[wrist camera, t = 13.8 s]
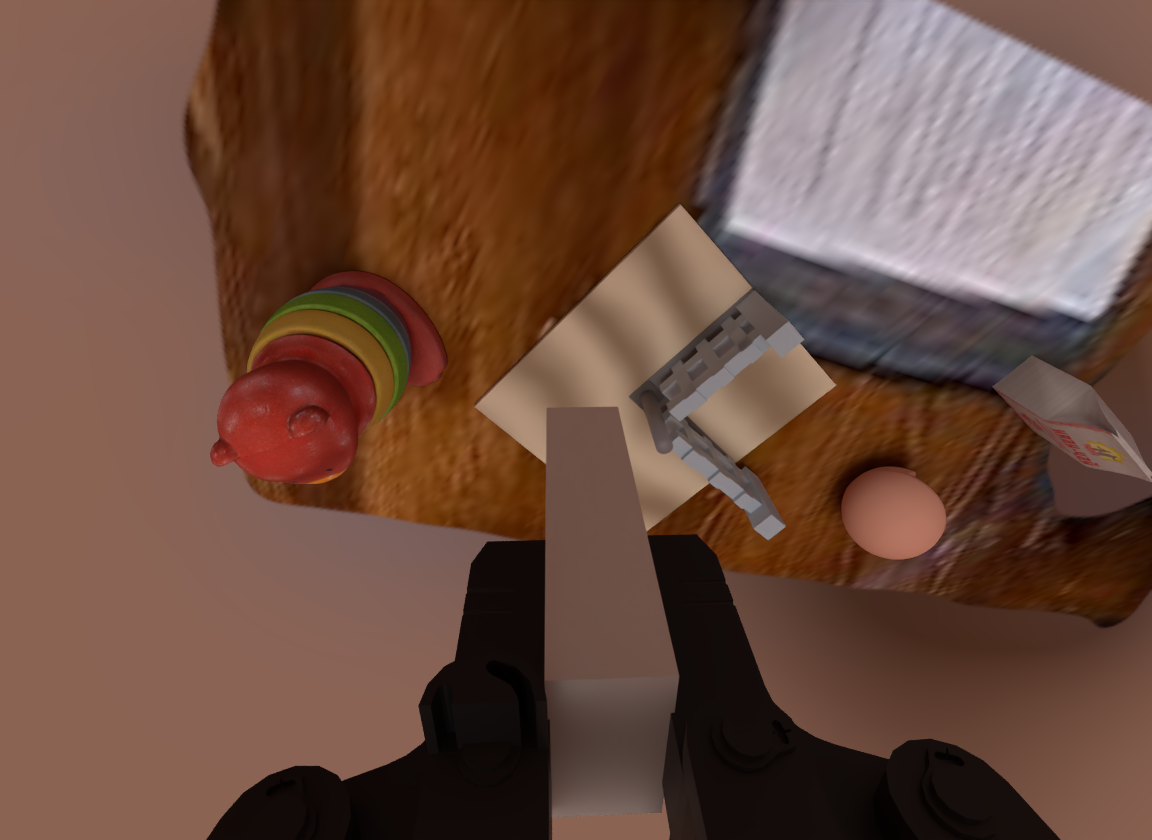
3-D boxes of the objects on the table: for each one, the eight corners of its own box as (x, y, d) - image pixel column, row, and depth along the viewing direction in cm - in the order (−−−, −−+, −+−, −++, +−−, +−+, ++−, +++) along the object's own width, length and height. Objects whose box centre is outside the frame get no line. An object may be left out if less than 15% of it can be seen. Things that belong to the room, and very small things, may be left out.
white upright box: (1031, 355, 48) (1139, 411, 39) (1071, 401, 50) (1181, 464, 42) (992, 386, 49) (1088, 448, 41) (1032, 430, 52) (1131, 497, 43)
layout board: (678, 203, 41) (680, 204, 41) (833, 382, 48) (836, 385, 48) (475, 403, 48) (474, 407, 47) (636, 533, 55) (638, 538, 55)
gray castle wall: (653, 416, 48) (668, 460, 42) (668, 401, 48) (686, 444, 42) (742, 490, 52) (768, 540, 46) (758, 477, 51) (786, 526, 46)
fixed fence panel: (753, 289, 44) (792, 325, 37) (767, 306, 44) (808, 344, 37) (634, 394, 48) (649, 444, 40) (649, 407, 48) (666, 459, 41)
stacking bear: (329, 406, 48) (222, 554, 32) (268, 288, 43) (106, 394, 27) (455, 374, 47) (408, 510, 31) (406, 250, 42) (322, 336, 26)
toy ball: (896, 520, 56) (945, 579, 49) (817, 520, 55) (856, 579, 48) (922, 448, 52) (980, 502, 45) (838, 448, 52) (883, 501, 45)
